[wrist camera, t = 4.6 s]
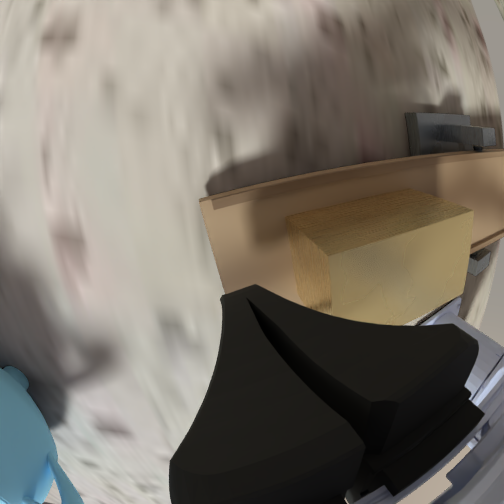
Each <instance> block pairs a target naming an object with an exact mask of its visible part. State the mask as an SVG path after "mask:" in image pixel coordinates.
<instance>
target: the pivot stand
mask: <svg viewBox="0 0 504 504" xmlns="http://www.w3.org/2000/svg"><path fill="white" fill-rule="evenodd" d="M405 115H406V122H407V129H408V136H409V145H410V154H411V156H419V155H428V154H437V153H448V152H459V151H471V150H473V146H472V145H478V146H493V145H496V140H495V128H489V127H479V126H471V124H470V116H469V115H457V114H440V113H405ZM490 254H491V251H489V250H487V249H485V248H482V249H480V250H478V251H476V252H474V253H472V254H470V256H469V263H468V269H467V272H468V273H470V274H472V275H474V276H477V275H478V274H479V273H480V272H481V271H482V270H484V269H485V268H486V267H487V266H488V265H489V260H490Z"/></svg>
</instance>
